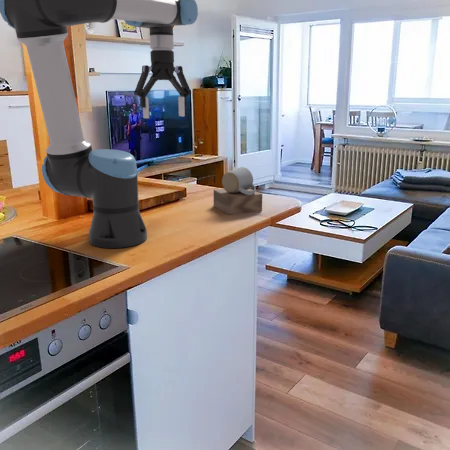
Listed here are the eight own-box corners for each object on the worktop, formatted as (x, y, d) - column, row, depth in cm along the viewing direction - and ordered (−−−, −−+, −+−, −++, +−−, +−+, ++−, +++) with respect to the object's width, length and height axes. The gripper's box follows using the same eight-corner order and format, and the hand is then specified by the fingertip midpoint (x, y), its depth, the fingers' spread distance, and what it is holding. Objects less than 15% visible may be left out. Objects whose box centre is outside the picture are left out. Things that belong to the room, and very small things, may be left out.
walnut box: (228, 216, 151) (228, 197, 150) (213, 207, 162) (213, 189, 160) (261, 211, 156) (262, 193, 154) (245, 203, 167) (245, 186, 165)
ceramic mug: (219, 192, 156) (220, 169, 154) (235, 187, 162) (235, 165, 160) (246, 197, 150) (246, 173, 148) (260, 193, 156) (261, 169, 154)
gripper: (188, 51, 164) (189, 114, 171) (121, 49, 150) (125, 118, 157) (200, 50, 159) (201, 116, 165) (131, 48, 145) (135, 119, 151)
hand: (164, 117), depth 161 cm, fingers open, 13 cm apart
